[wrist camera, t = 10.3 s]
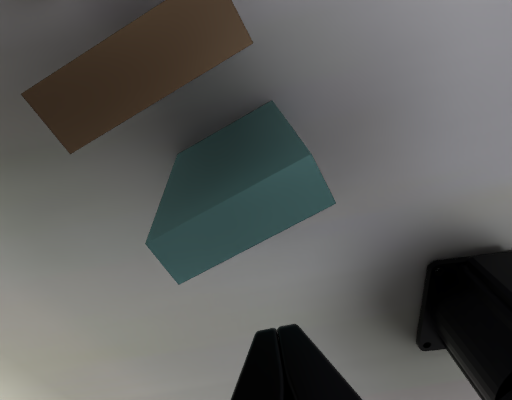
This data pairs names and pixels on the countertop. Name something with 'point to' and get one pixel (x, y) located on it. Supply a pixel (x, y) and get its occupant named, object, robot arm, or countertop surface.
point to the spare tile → (235, 193)
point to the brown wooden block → (136, 68)
